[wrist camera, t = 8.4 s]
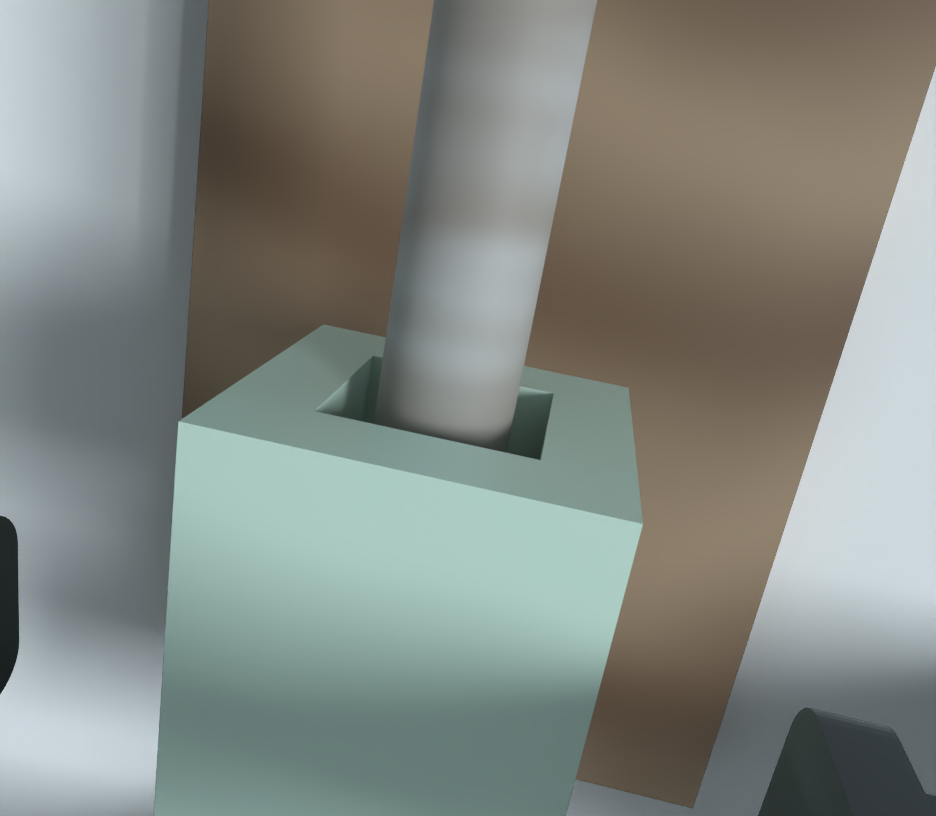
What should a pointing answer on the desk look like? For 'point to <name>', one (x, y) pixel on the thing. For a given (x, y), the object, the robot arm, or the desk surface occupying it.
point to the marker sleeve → (388, 596)
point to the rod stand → (573, 260)
